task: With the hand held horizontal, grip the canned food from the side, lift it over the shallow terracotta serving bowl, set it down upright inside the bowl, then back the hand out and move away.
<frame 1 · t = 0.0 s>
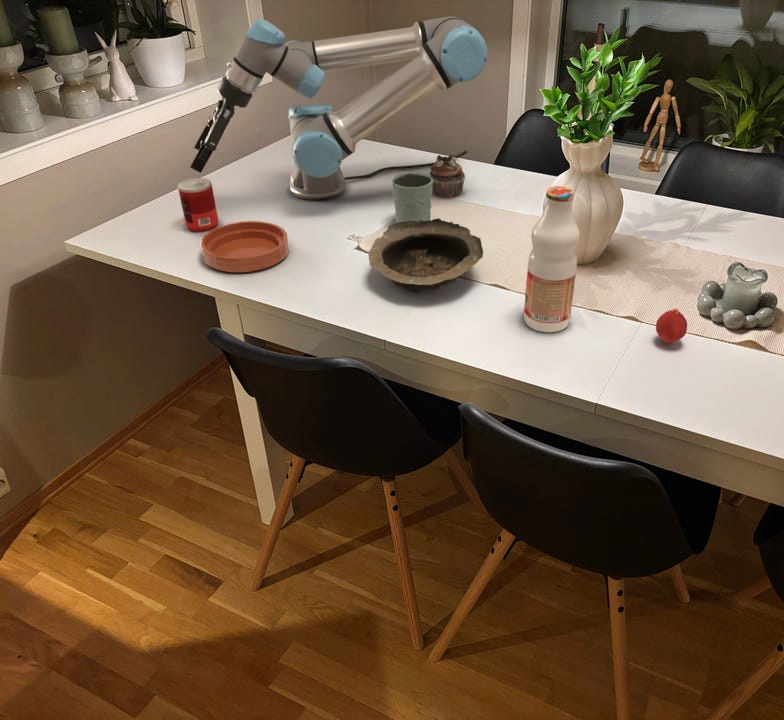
hand: (197, 159, 178), 15 cm above the table, tool tilted 35°, fingers open, 13 cm apart
stone bowl: (425, 279, 163), on the table
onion: (667, 343, 143), on the table
bowl: (246, 254, 171), on the table
cupcake: (447, 192, 203), on the table
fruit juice: (546, 321, 149), on the table
green embossed cup: (413, 225, 185), on the table
canned food: (202, 226, 183), on the table
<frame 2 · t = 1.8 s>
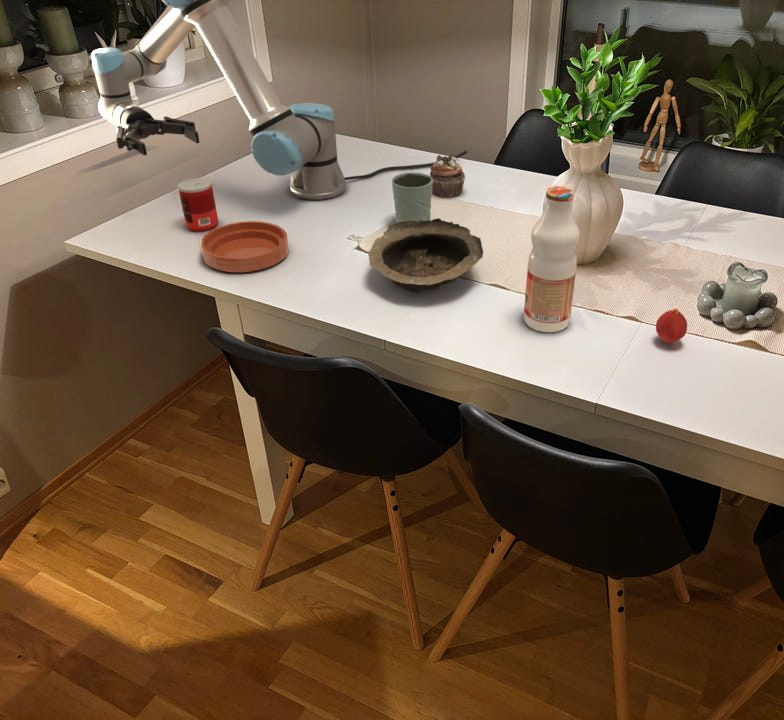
hand: (171, 143, 178), 18 cm above the table, tool horizontal, fingers open, 13 cm apart
nothing on the table moved.
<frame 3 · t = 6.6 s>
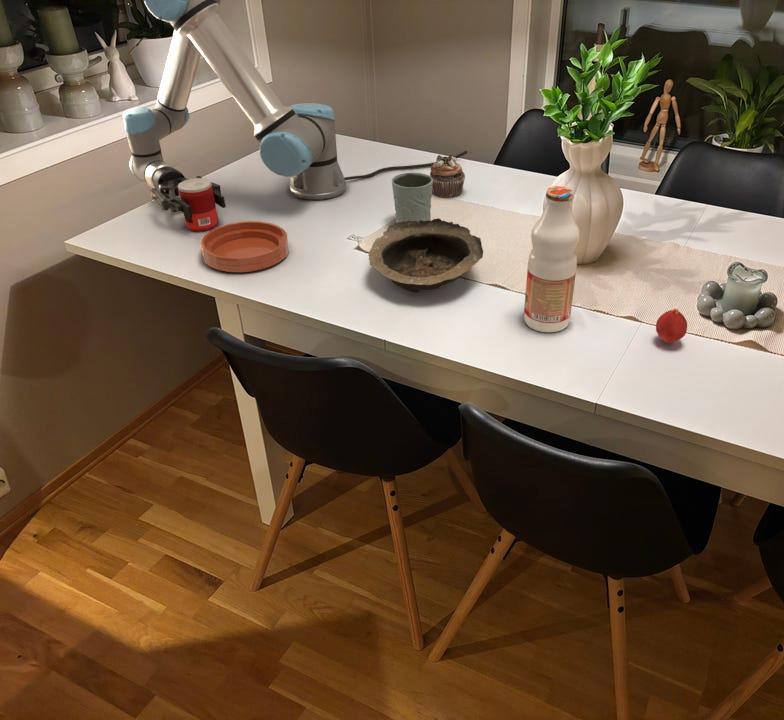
hand: (207, 207, 177), 6 cm above the table, tool horizontal, fingers closed on canned food, 8 cm apart
canned food: (202, 226, 183), on the table, touching gripper
everything else where it was.
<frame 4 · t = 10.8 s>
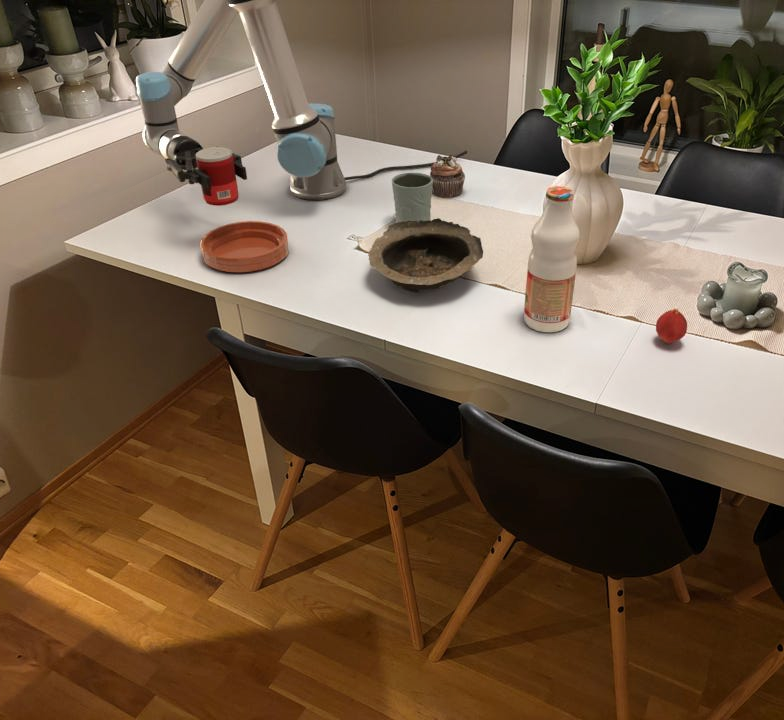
hand: (227, 178, 162), 18 cm above the table, tool horizontal, fingers closed on canned food, 8 cm apart
canned food: (222, 200, 169), point 11 cm above the table, touching gripper
everything else where it was.
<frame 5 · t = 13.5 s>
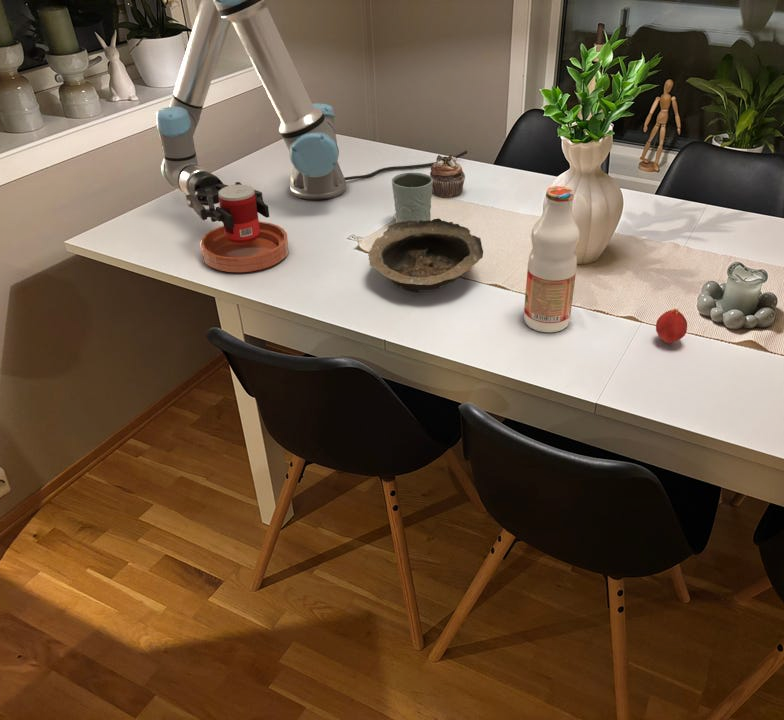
hand: (249, 216, 161), 11 cm above the table, tool horizontal, fingers closed on canned food, 8 cm apart
canned food: (243, 237, 168), point 5 cm above the table, touching gripper
everything else where it was.
when the fingers open (7 cm above the table, at t = 15.2 s): canned food stays where it is, resting on bowl.
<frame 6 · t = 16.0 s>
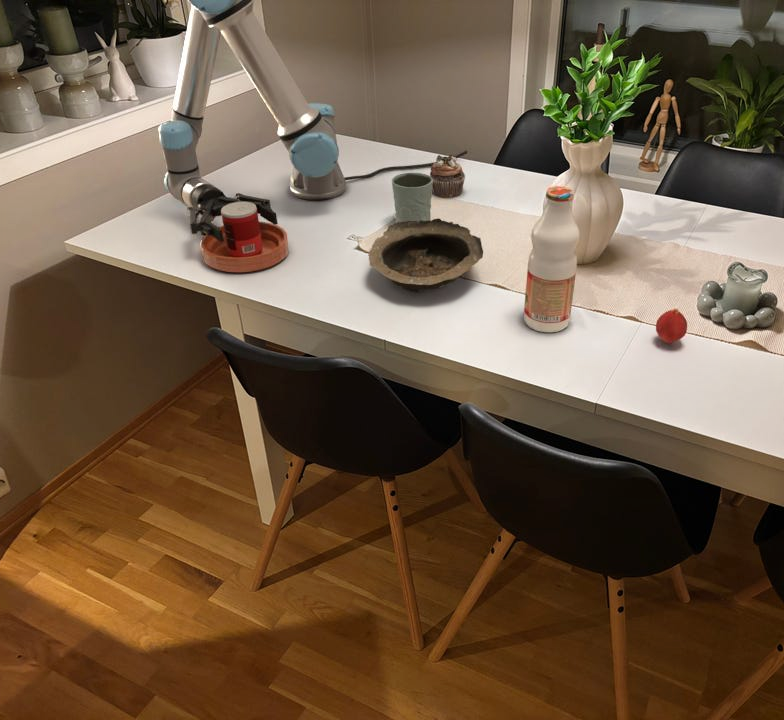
hand: (249, 227, 164), 8 cm above the table, tool horizontal, fingers open, 13 cm apart
canned food: (246, 253, 171), resting on bowl
everything else where it was.
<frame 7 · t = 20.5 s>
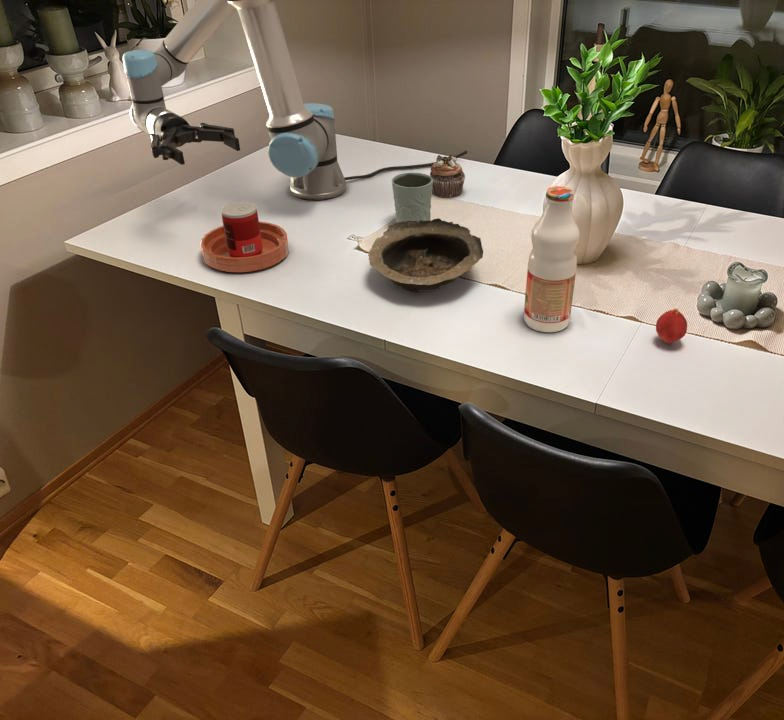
hand: (210, 151, 164), 22 cm above the table, tool horizontal, fingers open, 13 cm apart
nothing on the table moved.
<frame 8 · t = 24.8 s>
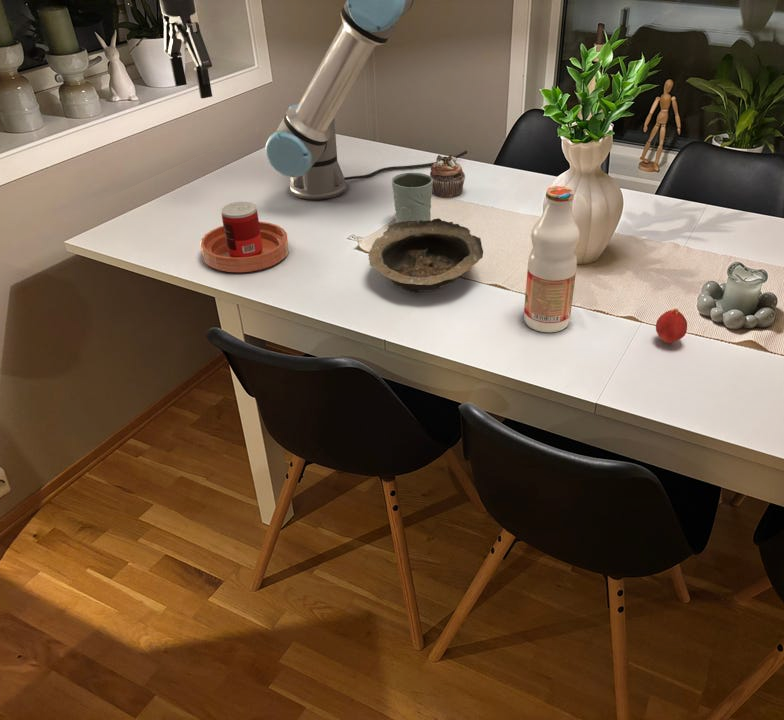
hand: (193, 91, 179), 29 cm above the table, tool pointing down, fingers open, 13 cm apart
nothing on the table moved.
at the end: canned food inside the target area in the bowl (0.1 cm from its centre), point 0.4 cm above the bowl's base; canned food tilted 0°; the gripper is holding nothing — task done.
